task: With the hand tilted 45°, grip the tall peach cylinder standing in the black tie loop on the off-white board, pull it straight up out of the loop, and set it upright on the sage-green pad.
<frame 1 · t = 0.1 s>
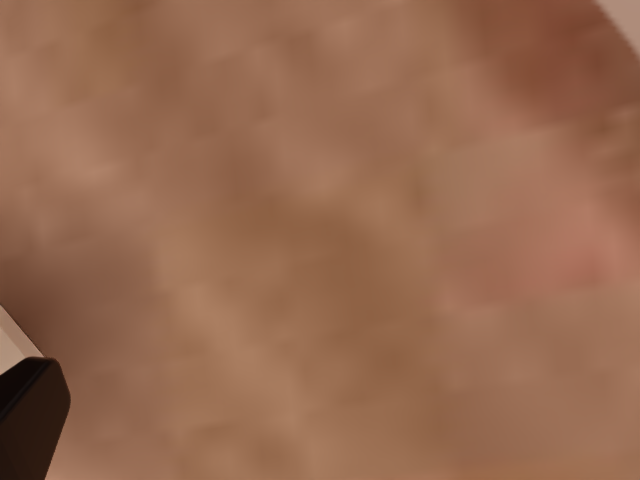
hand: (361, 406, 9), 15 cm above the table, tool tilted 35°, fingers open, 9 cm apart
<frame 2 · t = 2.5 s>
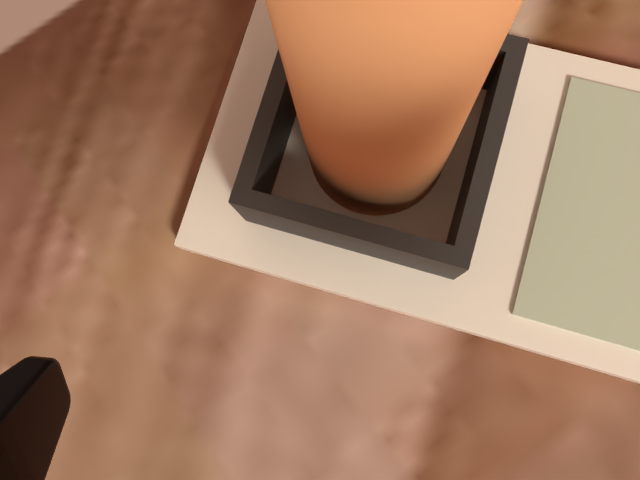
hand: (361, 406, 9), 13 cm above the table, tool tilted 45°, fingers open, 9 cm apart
tall peach cylinder: (376, 149, 22), point 1 cm above the table, touching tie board
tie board: (512, 193, 23), on the table
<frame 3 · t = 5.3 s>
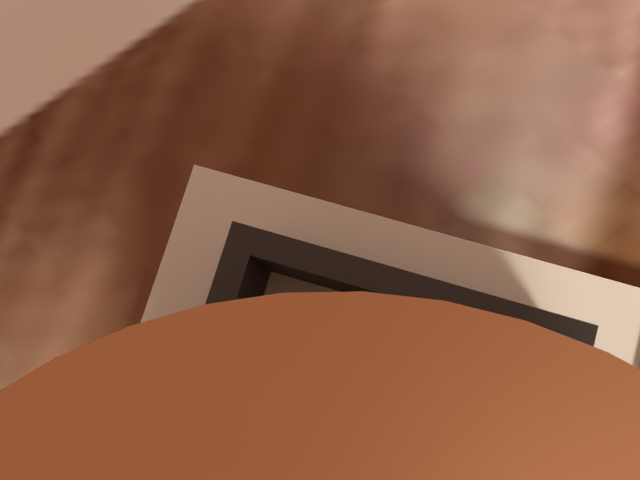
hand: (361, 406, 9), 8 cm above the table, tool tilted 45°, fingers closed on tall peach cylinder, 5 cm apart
tall peach cylinder: (356, 435, 15), point 1 cm above the table, touching gripper, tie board
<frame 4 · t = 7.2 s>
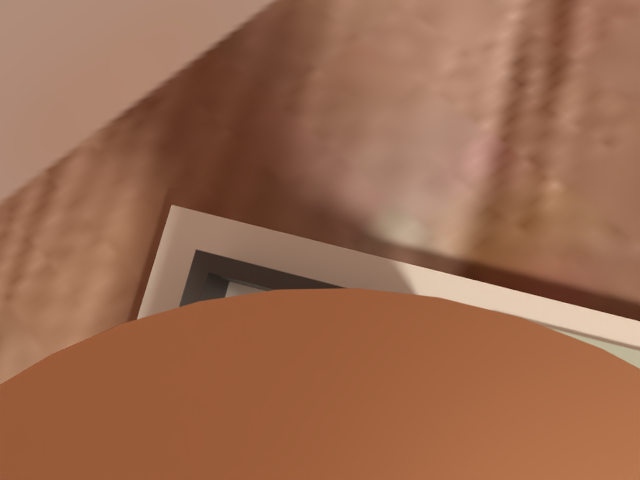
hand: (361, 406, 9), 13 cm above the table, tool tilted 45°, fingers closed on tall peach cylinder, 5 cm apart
tall peach cylinder: (356, 434, 15), point 7 cm above the table, touching gripper
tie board: (440, 434, 21), on the table
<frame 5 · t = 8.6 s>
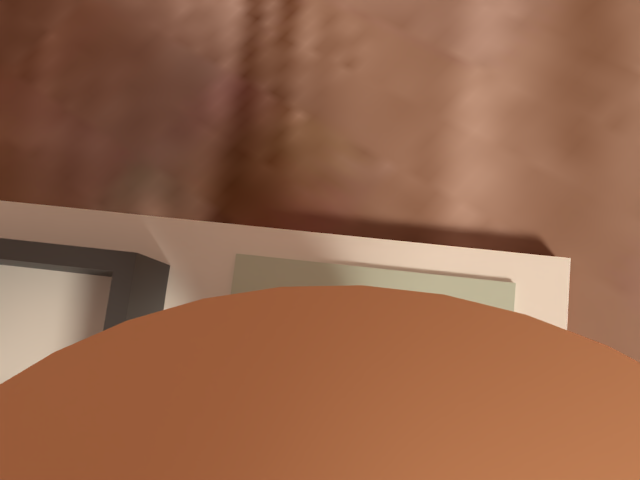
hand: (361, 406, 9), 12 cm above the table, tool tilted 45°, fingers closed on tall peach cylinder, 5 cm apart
tall peach cylinder: (357, 434, 15), point 5 cm above the table, touching gripper
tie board: (202, 387, 20), on the table
when the fingers open (9 cm above the table, at t = 9.5 s): tall peach cylinder drops 1 cm, resting on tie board.
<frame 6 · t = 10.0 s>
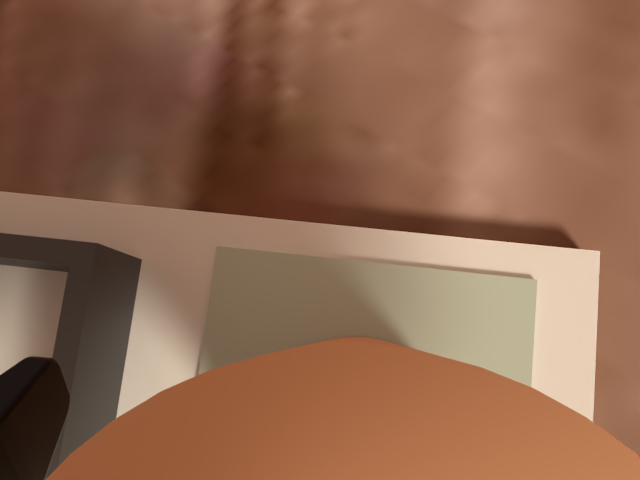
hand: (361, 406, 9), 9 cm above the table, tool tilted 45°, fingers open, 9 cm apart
tall peach cylinder: (357, 430, 16), point 1 cm above the table, touching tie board
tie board: (178, 398, 18), on the table
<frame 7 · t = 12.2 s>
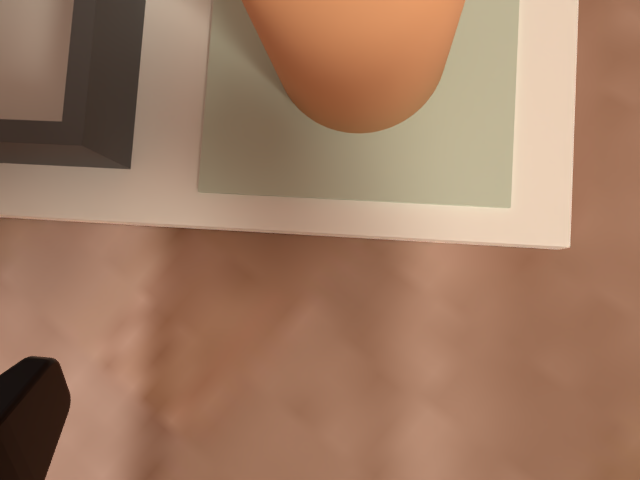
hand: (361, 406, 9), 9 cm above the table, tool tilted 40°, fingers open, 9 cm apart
tall peach cylinder: (360, 49, 17), point 1 cm above the table, touching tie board
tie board: (195, 57, 19), on the table
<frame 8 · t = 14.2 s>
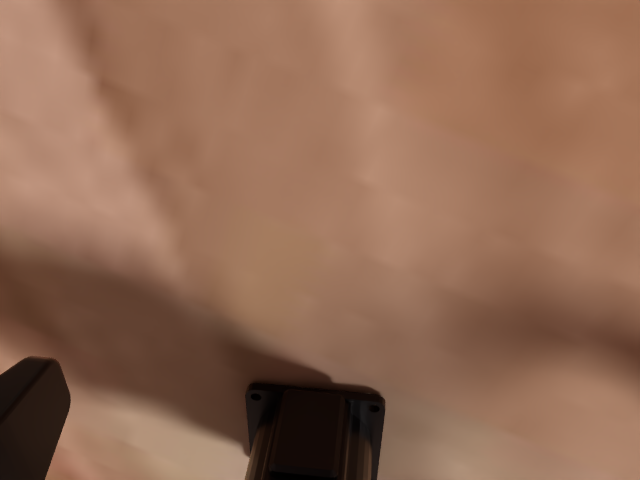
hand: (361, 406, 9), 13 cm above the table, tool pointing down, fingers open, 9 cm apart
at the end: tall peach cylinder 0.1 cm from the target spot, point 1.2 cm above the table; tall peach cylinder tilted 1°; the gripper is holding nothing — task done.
